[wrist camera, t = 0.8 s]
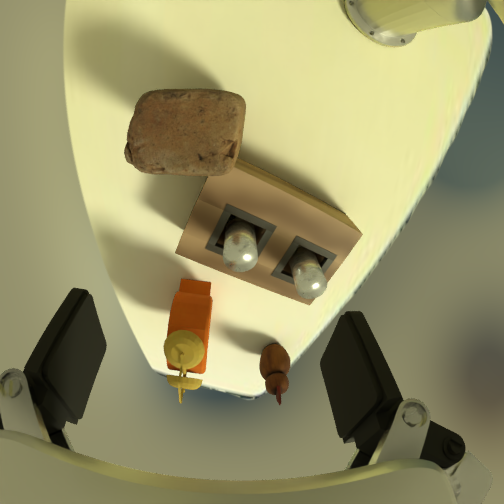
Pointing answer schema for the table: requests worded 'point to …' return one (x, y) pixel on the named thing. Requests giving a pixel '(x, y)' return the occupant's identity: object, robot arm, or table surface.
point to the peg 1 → (240, 245)
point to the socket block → (266, 227)
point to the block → (186, 132)
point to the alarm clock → (188, 334)
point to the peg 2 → (307, 273)
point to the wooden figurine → (275, 369)
